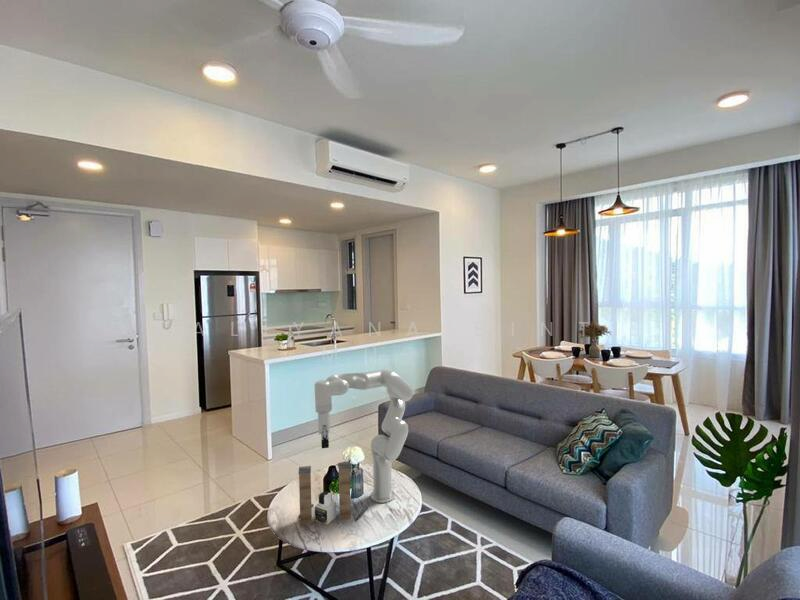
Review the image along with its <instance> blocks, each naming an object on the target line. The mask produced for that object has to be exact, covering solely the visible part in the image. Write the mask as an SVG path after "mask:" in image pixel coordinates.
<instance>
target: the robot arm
mask: <svg viewBox="0 0 800 600" xmlns="http://www.w3.org/2000/svg"><path fill="white" fill-rule="evenodd" d="M381 387H383V388H386V392H387V394H388V397H389V405H388V409H387V412H386V413H385V417H384V418H383V421H382V423H381V430H382V431H383V432H384V433H385V434H387V436H386V435H384V434H377V435H375V436H374V437H373V438H372V440H371V442H370V451H371V455H372V480H373V481H372V484H373V487H372V489H373V490H372V491H371V492H370V499H371V500H372V501H373V502H375V503H380V504H382V503H383V504H384V503H389V502H391V501H392V500H394V499H395V497H396V494H395V491H394V490H393V489H392V486H393V485H394V482H393V480H392V479H393V478H392V462H393V461H396V459H398V458H399V456H400V454H401V452H402V450H403V447H404V445H405V443H406V439H407V438H408V434H409V425H408V423H407V422H406V421H405V420H403V416H404V414H405V410H406V402H408V401H410V400H411V399H412V397H413V395H414V390H413V388H412V386H411V385H410V384H409V383H408V382H407V381H405V380H404V379H403V378H402V377H401V376H400V375H399V374H397V373H396V372H393V371H390V370H387V369H378V370H372V371H365V372H353V373H352V372H350V373H340V374H334V375H330V376H328V377H326V379H323V380H317V381H315V383H314V402H315V413H317V427H318V428H317V429H318V430H317V431H318V433H317V434H318V435H321V441H320V442H321V449H328V448H330V445H329V444H330V441H329V433H330V424H331V423H330V422H331V421H330V420H331V419H330V417H331V416H330V412H332V411H333V403H332V402H333V401H332V400H333V399H332V397H333V396H343V395H345V394H347V392H348V391H349V389H355V390H360V391H361V390H364V391H365V390H366V391H367V390H371V389H376V388H381ZM388 436H389V437H388Z"/></svg>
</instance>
